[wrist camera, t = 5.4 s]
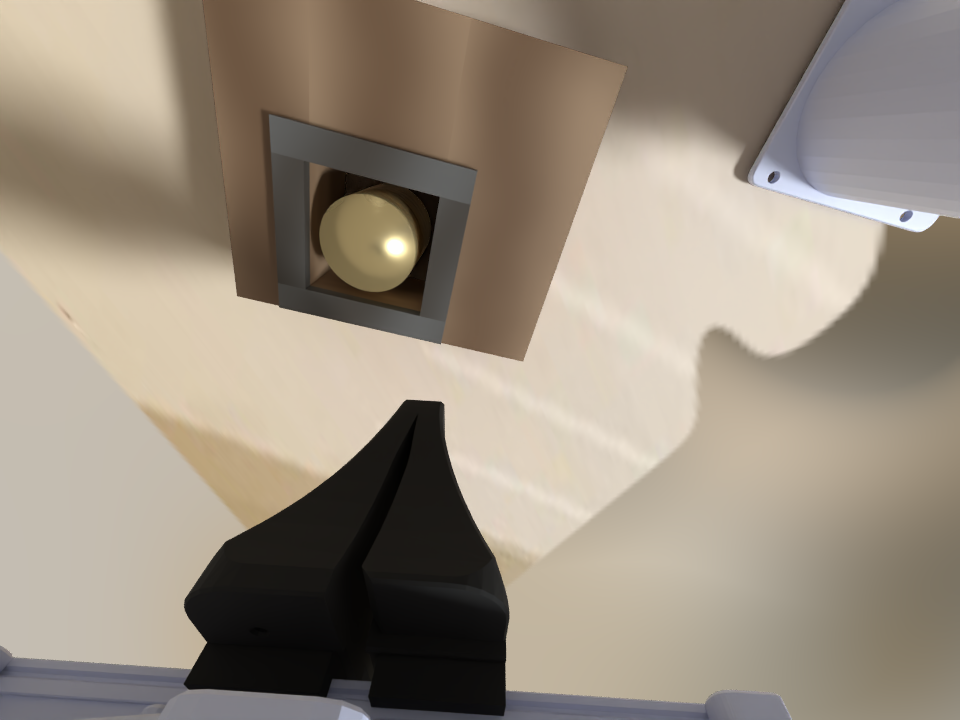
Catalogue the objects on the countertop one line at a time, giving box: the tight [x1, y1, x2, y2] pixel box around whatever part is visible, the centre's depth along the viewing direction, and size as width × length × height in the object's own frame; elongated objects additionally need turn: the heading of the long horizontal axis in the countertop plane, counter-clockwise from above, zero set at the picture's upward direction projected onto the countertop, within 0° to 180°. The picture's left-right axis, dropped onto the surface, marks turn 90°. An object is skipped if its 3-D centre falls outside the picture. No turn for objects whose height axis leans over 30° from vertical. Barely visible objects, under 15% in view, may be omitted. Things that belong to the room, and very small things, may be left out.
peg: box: [319, 183, 431, 292], centre depth 17 cm, size 4×4×4 cm
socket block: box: [203, 0, 628, 361], centre depth 16 cm, size 14×12×4 cm
